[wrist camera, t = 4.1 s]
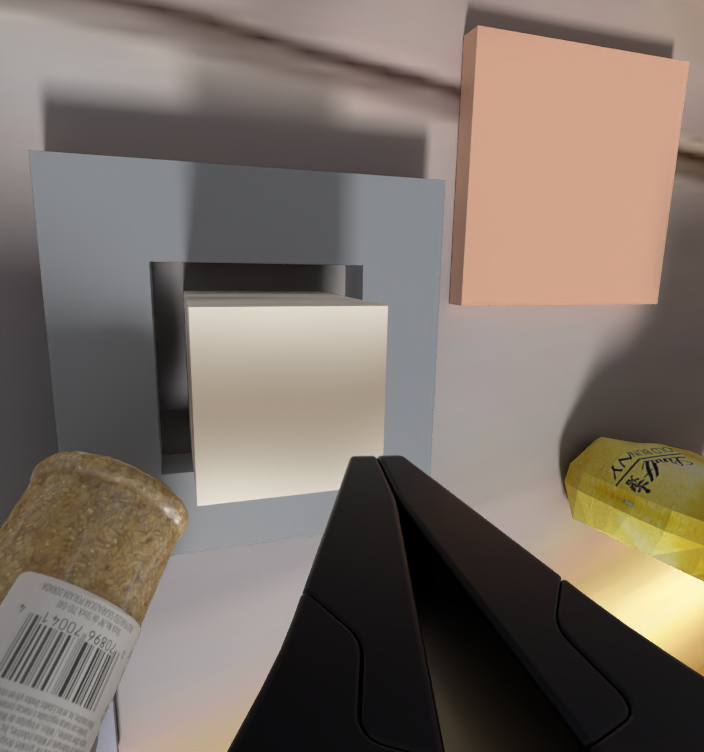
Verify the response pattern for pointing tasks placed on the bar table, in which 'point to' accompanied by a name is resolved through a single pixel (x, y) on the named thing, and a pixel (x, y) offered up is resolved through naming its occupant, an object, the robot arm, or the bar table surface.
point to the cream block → (281, 390)
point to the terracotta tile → (562, 171)
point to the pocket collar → (222, 245)
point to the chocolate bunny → (643, 498)
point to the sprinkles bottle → (77, 593)
